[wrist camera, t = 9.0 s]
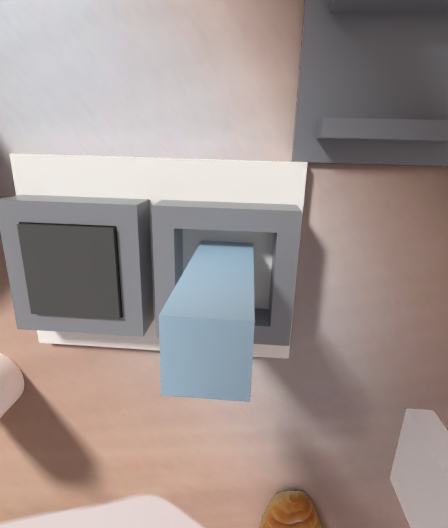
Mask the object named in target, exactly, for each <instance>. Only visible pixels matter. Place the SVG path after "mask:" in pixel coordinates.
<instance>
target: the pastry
mask: <svg viewBox="0 0 448 528" xmlns="http://www.w3.org/2000/svg"><path fill="white" fill-rule="evenodd" d="M259 528H322V526H321V523H320V521H319V518H318V515H317V513H316V509H315V507H314V504H313V502H312V500H311V499H310V498H309V497H308V495H307V494H306V493H305V492H304V491H283V492H279V493H276V494H275V496H274V497H273V499H272V500H271V501H270V504H269V506H268V508H267V510H266V511H265V512H264V514H263V516H262V522H261V524H260V527H259Z"/></svg>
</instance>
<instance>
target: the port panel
mask: <svg viewBox="0 0 448 528" xmlns="http://www.w3.org/2000/svg"><path fill="white" fill-rule="evenodd" d="M10 160H11V166H12V173H13V179H14V186H15V192H16V196H12V197H6V198H1V199H0V232H1V238H2V244H3V250H4V255H5V261H6V267H7V272H8V278H9V284H10V289H11V295H12V301H13V307H14V312H15V318H16V324H17V329H25V330H37V333H38V340H39V343H53V344H69V345H84V346H100V347H115V348H130V349H146V350H160V338H159V314H160V312H161V311H162V309H163V307H164V305H165V304H166V302H167V300H168V298H169V297H170V295H171V293H172V291H173V290H174V288H175V286H176V284H177V283H178V281H179V279H180V277H181V276H182V274H183V272H184V270H185V269H186V267H187V265H188V263H189V262H190V260H191V258H192V256H193V255H194V253H195V251H196V249H197V248H198V246H199V244H200V242H201V241H221V242H244V243H253V254H254V311H255V324H254V341H253V357H268V358H284V359H289V351H290V340H291V330H292V319H293V309H294V299H295V288H296V278H297V267H298V257H299V247H300V236H301V226H302V215H303V205H304V195H305V184H306V174H307V163H308V162H290V161H255V160H221V159H186V158H151V157H117V156H82V155H48V154H10Z"/></svg>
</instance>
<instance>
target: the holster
mask: <svg viewBox="0 0 448 528" xmlns="http://www.w3.org/2000/svg"><path fill="white" fill-rule="evenodd" d="M292 162H319V163H354V164H389V165H423V166H448V0H305V8H304V20H303V32H302V44H301V56H300V68H299V80H298V92H297V104H296V116H295V129H294V141H293V153H292Z"/></svg>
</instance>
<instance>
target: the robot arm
mask: <svg viewBox="0 0 448 528" xmlns="http://www.w3.org/2000/svg"><path fill="white" fill-rule="evenodd" d="M390 481H391V483H392V486H393V488H394V490H395V493H396V495H397V497H398V500H399V502H400V505H401V507H402V509H403V512H404V514H405V517H406V519H407V521H408V524H409V526H410V528H448V431H447V429H446V428H445V426H444V425H443V423H442V422H441V420H440V419H439V418H438V416H437V415H436V413H435V412H434V410H425V409H410V408H406V412H405V416H404V420H403V424H402V428H401V432H400V437H399V441H398V445H397V449H396V453H395V458H394V462H393V466H392V470H391V474H390Z"/></svg>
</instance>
